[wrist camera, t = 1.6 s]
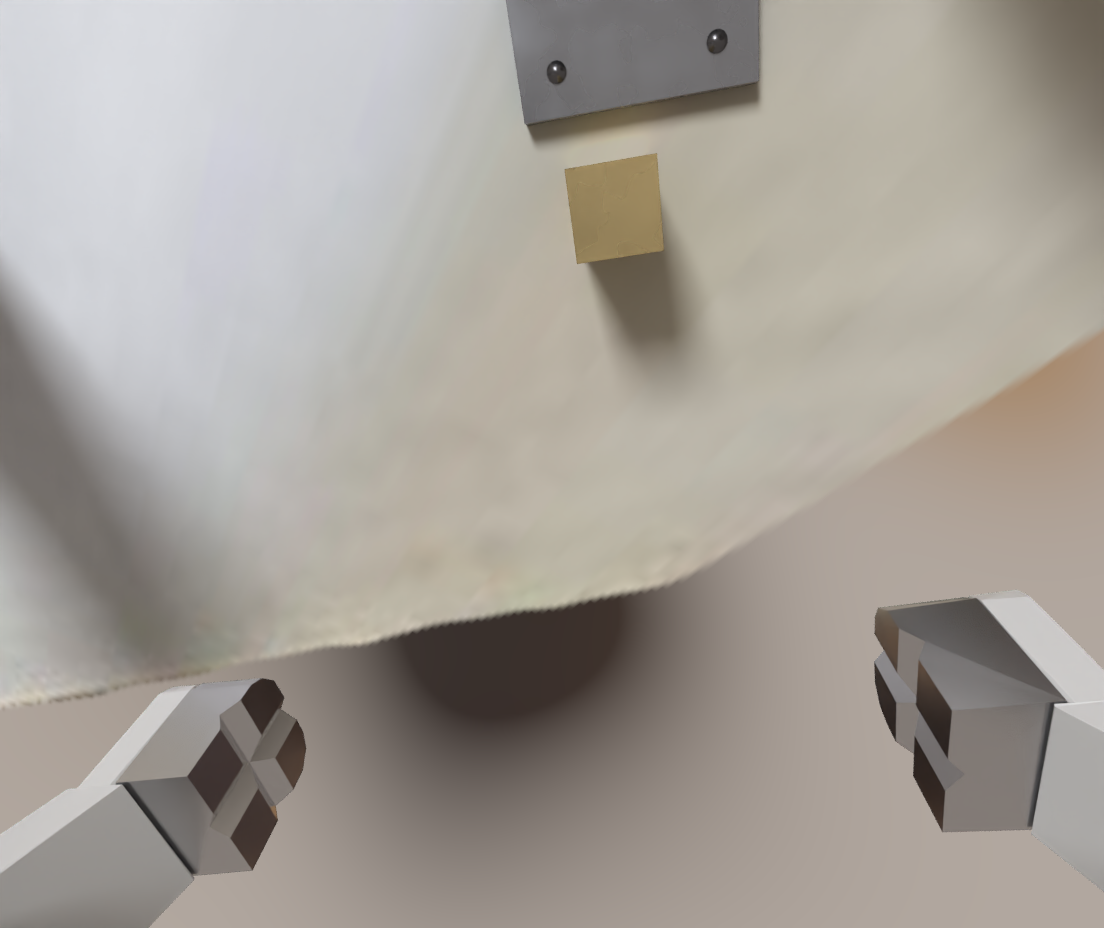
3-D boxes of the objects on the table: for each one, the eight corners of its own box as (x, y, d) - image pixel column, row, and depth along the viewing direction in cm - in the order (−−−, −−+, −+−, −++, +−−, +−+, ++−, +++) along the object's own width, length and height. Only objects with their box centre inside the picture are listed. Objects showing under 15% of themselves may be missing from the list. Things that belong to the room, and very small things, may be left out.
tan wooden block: (649, 233, 35) (665, 250, 27) (579, 244, 35) (577, 263, 28) (643, 156, 33) (658, 153, 26) (570, 169, 33) (564, 169, 26)
